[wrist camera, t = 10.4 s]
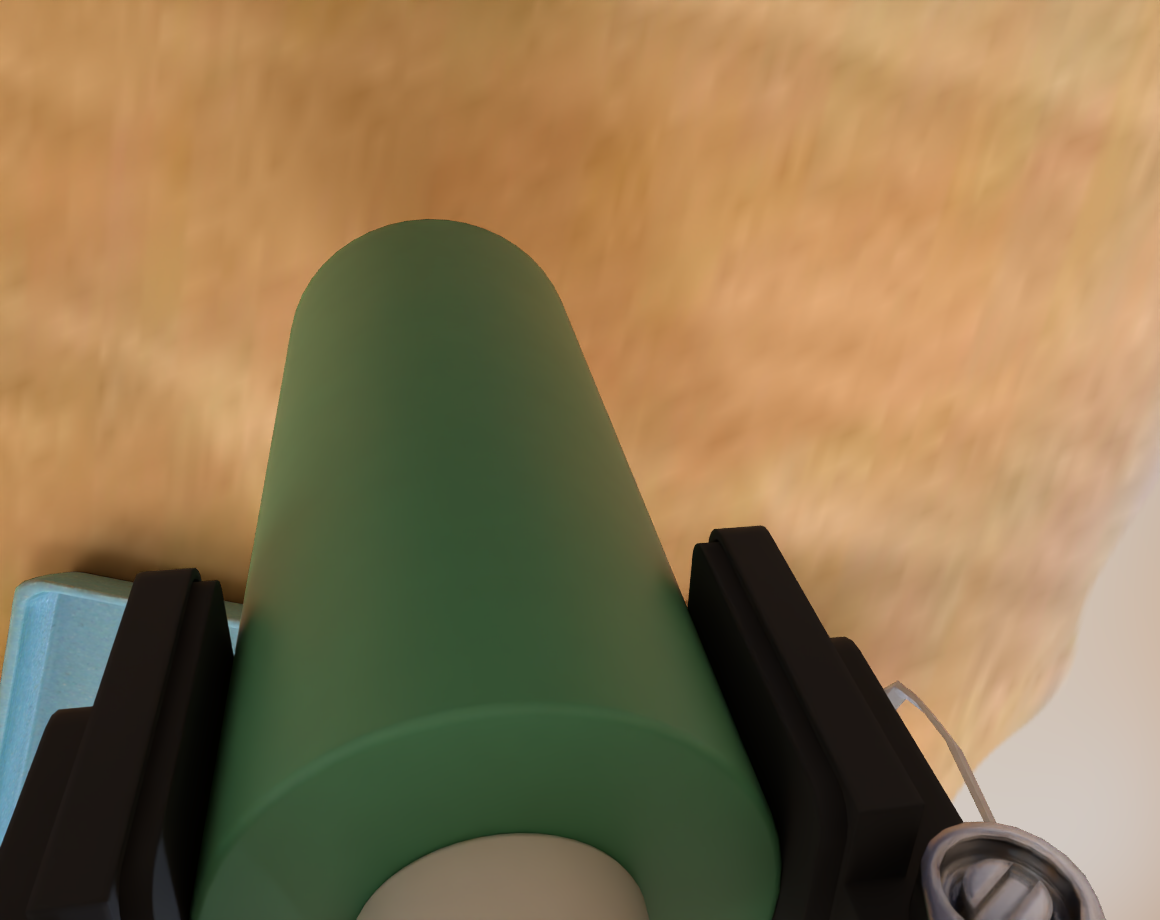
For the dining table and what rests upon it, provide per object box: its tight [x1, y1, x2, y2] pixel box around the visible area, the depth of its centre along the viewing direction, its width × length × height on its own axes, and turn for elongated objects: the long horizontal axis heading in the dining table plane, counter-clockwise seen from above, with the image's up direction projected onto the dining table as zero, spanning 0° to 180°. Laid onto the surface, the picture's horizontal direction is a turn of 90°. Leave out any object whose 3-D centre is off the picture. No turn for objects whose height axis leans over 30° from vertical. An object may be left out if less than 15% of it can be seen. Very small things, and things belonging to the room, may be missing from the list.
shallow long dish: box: [0, 572, 243, 847], centre depth 35 cm, size 26×9×2 cm, turn 159°
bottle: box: [189, 219, 782, 920], centre depth 13 cm, size 5×5×14 cm
